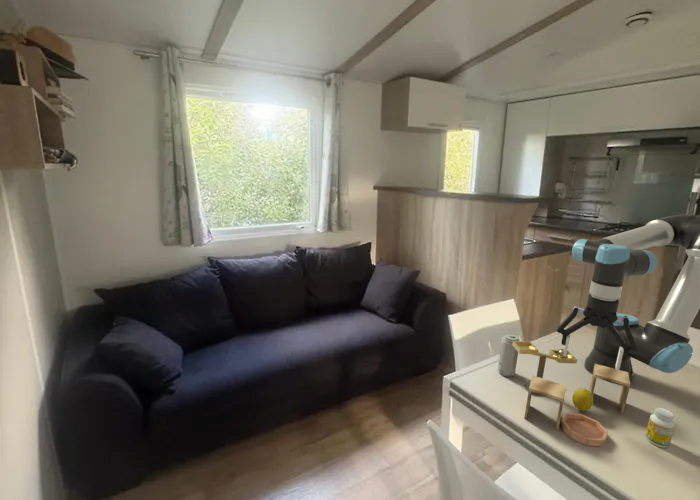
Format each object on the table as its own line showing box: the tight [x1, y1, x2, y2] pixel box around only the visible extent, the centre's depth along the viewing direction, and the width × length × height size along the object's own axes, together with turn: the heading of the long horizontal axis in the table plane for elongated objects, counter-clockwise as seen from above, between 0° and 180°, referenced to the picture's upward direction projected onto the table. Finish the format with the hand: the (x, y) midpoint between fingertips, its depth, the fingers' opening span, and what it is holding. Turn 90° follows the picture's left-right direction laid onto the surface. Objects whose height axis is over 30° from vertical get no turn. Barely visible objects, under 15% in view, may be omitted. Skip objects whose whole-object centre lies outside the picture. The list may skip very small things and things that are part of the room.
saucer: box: [560, 412, 609, 448], centre depth 106 cm, size 11×11×2 cm
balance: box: [512, 340, 578, 396], centre depth 124 cm, size 19×6×17 cm, turn 88°
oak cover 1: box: [524, 375, 567, 432], centre depth 111 cm, size 9×8×11 cm
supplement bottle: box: [644, 407, 675, 449], centre depth 102 cm, size 5×5×10 cm
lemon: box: [572, 387, 594, 412], centre depth 115 cm, size 6×6×8 cm
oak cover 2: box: [588, 364, 631, 415], centre depth 119 cm, size 9×8×11 cm
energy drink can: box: [497, 333, 520, 378], centre depth 134 cm, size 6×6×15 cm
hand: (590, 361), depth 111 cm, fingers open, 13 cm apart
